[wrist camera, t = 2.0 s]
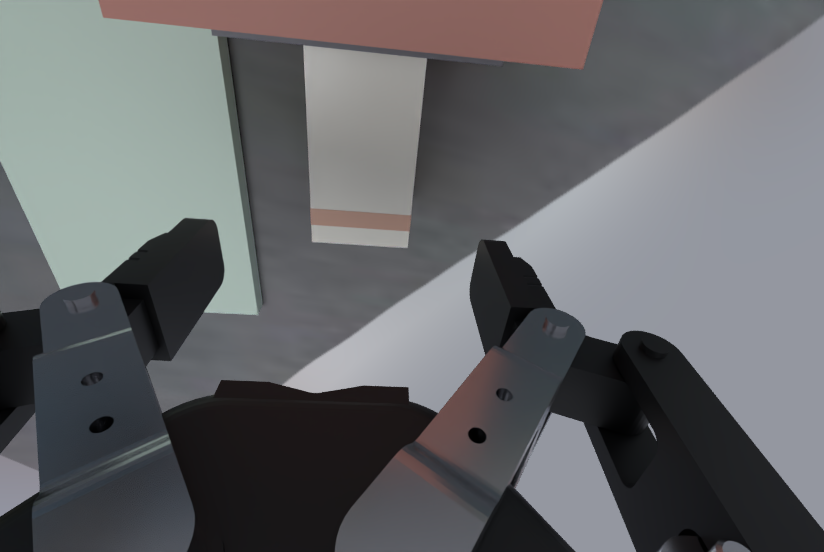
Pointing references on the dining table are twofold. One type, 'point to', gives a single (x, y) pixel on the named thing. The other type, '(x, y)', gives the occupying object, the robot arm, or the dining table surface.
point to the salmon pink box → (393, 26)
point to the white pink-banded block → (362, 144)
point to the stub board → (122, 140)
